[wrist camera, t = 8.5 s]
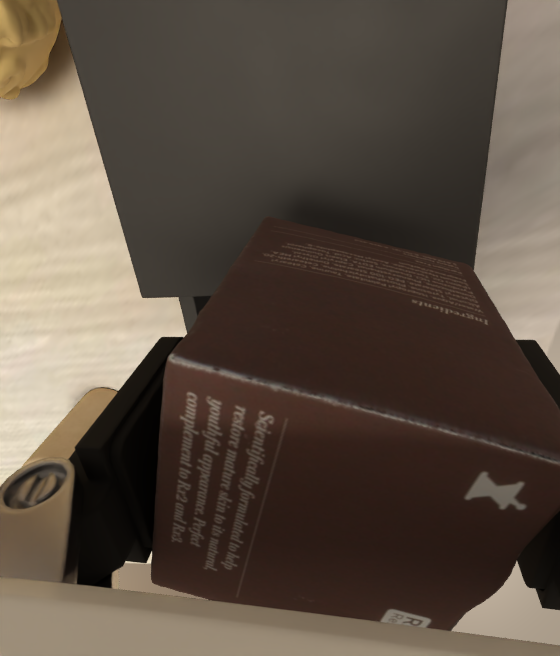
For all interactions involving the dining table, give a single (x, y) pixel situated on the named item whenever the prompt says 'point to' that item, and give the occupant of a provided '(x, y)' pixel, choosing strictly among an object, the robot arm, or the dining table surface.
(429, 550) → the box
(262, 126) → the cabinet
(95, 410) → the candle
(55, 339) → the dining table surface
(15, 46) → the sculpture
